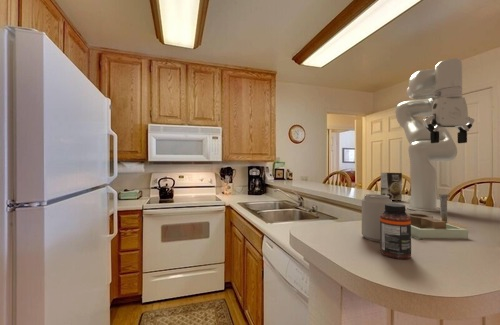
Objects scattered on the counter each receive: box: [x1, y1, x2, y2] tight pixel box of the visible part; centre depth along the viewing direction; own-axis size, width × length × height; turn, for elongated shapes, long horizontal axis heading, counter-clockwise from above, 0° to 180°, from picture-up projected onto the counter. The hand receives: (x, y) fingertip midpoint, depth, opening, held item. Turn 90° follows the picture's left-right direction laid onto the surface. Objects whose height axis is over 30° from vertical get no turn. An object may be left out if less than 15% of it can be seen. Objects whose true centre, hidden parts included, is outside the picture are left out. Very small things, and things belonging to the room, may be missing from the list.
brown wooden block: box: [406, 212, 446, 229], centre depth 72 cm, size 12×7×4 cm, turn 179°
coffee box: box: [380, 172, 403, 201], centre depth 138 cm, size 9×6×16 cm
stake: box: [438, 193, 473, 229], centre depth 81 cm, size 11×9×10 cm
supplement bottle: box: [379, 202, 412, 260], centre depth 54 cm, size 6×6×11 cm
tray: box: [411, 223, 469, 241], centre depth 73 cm, size 17×13×3 cm
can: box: [361, 193, 393, 243], centre depth 66 cm, size 8×8×12 cm
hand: (448, 142), depth 86 cm, fingers open, 9 cm apart
